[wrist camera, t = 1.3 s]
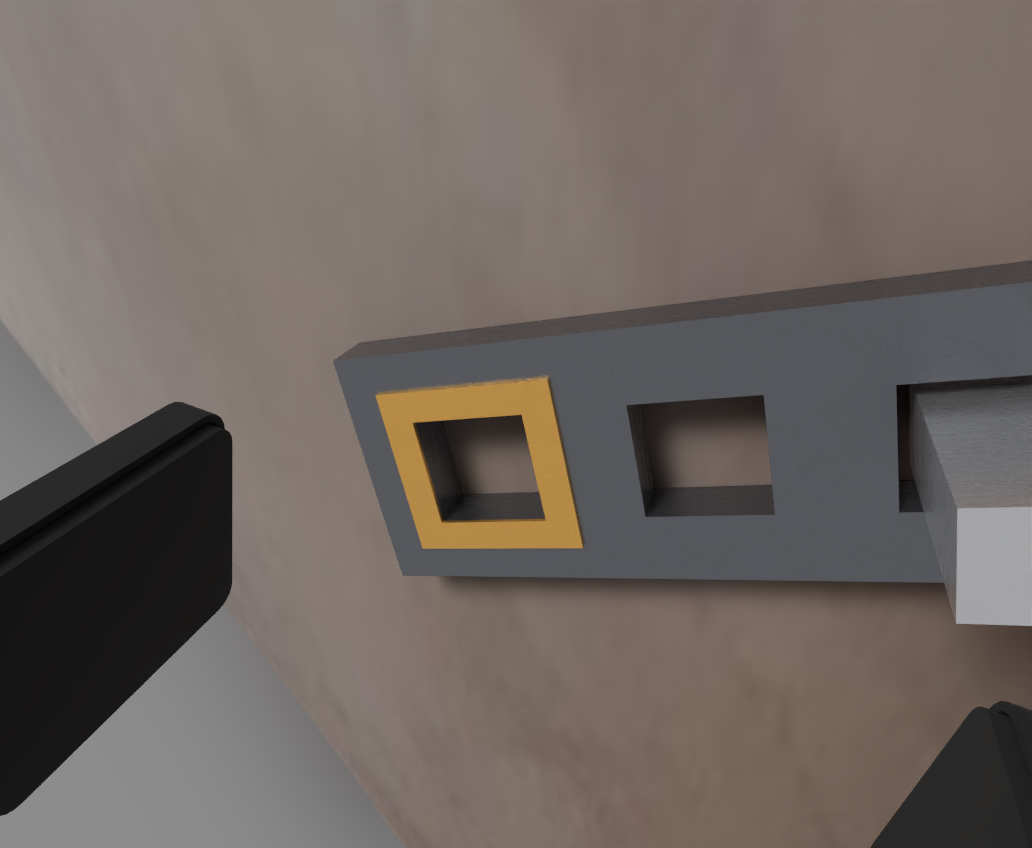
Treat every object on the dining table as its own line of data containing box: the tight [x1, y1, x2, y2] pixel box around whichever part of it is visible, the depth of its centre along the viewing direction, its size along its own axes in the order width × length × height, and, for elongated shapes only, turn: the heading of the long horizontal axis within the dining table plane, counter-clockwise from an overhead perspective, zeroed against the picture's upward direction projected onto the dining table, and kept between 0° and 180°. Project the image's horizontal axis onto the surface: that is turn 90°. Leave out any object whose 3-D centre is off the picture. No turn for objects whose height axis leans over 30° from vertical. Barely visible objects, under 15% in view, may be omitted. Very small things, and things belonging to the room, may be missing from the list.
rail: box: [333, 261, 1032, 583], centre depth 32 cm, size 32×12×3 cm, turn 102°
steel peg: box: [909, 375, 1032, 626], centre depth 25 cm, size 4×4×10 cm
